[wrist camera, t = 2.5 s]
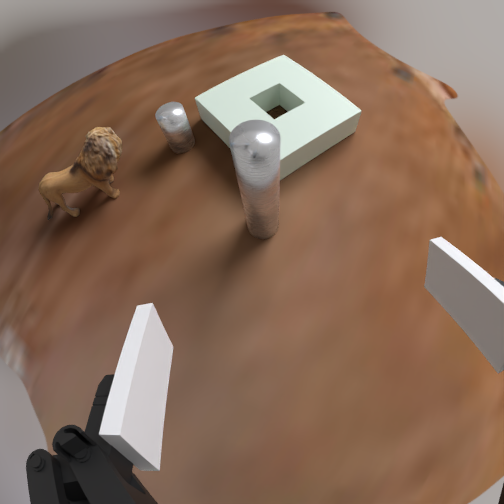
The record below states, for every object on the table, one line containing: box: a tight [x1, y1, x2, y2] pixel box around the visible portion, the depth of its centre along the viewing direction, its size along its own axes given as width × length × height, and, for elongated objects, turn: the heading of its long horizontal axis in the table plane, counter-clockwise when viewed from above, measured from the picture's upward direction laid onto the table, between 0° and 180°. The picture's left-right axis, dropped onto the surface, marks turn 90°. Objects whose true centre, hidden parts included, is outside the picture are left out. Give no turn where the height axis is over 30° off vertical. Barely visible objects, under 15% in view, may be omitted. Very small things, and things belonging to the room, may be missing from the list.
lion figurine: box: [39, 127, 122, 220], centre depth 30 cm, size 15×5×9 cm, turn 116°
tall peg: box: [229, 120, 281, 239], centre depth 24 cm, size 3×3×14 cm
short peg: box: [156, 102, 195, 154], centre depth 32 cm, size 3×3×6 cm
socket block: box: [195, 55, 361, 180], centre depth 33 cm, size 14×14×4 cm
